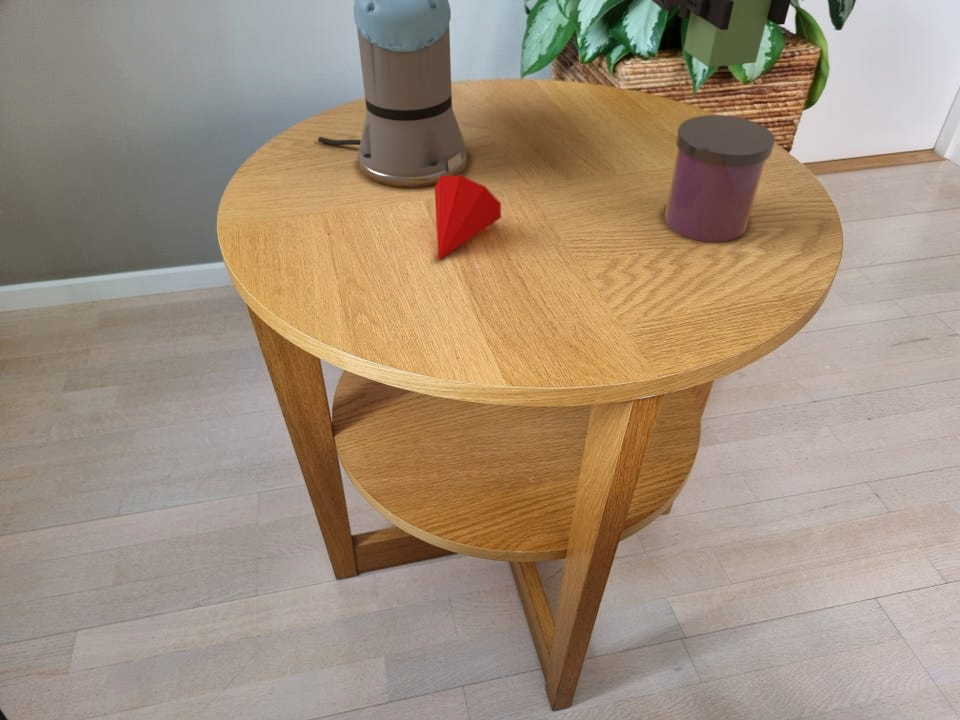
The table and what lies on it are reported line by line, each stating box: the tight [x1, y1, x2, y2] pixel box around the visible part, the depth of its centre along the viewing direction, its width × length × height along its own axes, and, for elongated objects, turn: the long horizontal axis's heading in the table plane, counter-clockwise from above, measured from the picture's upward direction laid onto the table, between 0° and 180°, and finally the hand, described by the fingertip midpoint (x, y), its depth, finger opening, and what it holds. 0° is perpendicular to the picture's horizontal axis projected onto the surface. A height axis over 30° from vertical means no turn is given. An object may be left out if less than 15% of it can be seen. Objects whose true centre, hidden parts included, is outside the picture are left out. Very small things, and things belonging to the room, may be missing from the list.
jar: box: [664, 114, 776, 243], centre depth 84 cm, size 11×11×11 cm
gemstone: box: [434, 174, 502, 261], centre depth 83 cm, size 9×9×10 cm
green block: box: [683, 0, 772, 68], centre depth 78 cm, size 6×6×10 cm
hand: (756, 13), depth 73 cm, fingers closed on green block, 6 cm apart
